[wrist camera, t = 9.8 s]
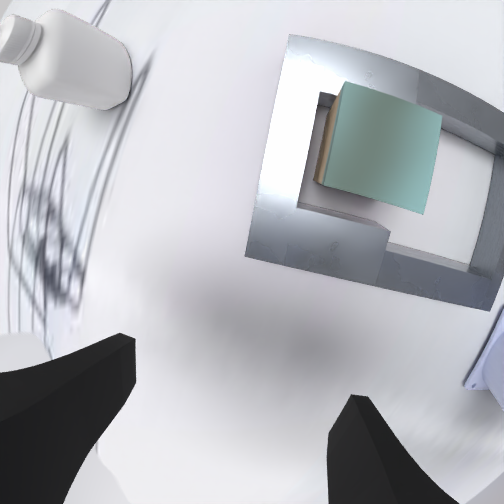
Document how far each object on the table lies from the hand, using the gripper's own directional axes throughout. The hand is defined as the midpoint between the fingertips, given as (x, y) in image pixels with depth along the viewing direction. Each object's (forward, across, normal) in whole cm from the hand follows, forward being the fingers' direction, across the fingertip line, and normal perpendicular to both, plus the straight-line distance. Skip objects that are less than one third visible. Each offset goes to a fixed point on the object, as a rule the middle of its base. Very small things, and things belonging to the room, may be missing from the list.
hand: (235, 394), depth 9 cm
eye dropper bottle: (+11, +14, -12) cm, 21 cm away
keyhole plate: (+10, -6, -8) cm, 15 cm away
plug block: (+10, -3, -9) cm, 14 cm away
